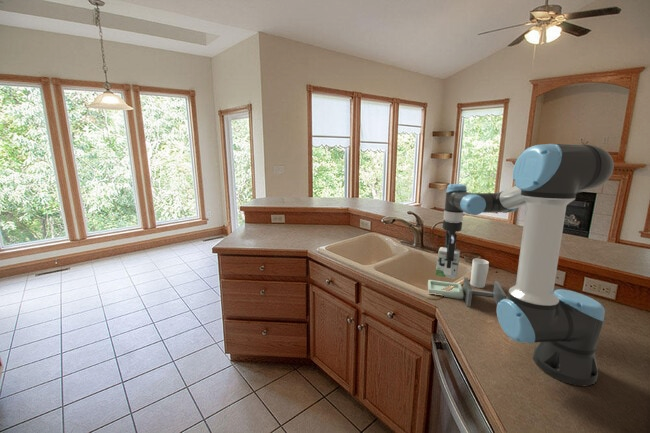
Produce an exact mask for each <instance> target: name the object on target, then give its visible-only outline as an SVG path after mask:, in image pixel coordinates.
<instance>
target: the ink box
mask: <svg viewBox="0 0 650 433" xmlns="http://www.w3.org/2000/svg"><path fill="white" fill-rule="evenodd" d="M446 256H447V248H445V246H444V247H443V246H440V247H439V249H438V254H437V261H436V269H435V276H439V277H444V278H447V279H453V280H456V279H457V275H458V268H459V265H460V264H459V262H460V256H461V250H459V249H455V251H454V261H452V269H451V275H446V274H444V269H445V260H444V259H446Z"/></svg>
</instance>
